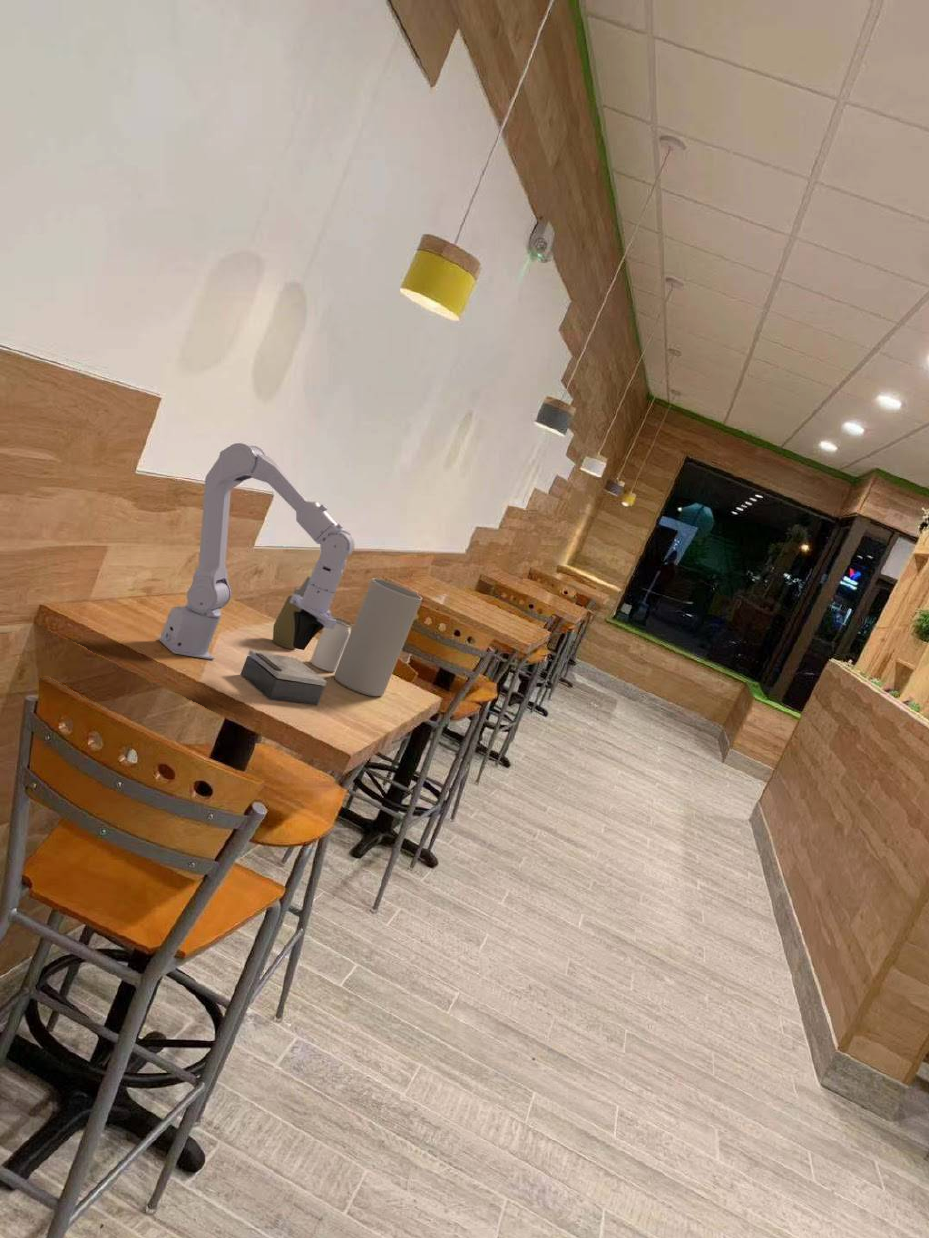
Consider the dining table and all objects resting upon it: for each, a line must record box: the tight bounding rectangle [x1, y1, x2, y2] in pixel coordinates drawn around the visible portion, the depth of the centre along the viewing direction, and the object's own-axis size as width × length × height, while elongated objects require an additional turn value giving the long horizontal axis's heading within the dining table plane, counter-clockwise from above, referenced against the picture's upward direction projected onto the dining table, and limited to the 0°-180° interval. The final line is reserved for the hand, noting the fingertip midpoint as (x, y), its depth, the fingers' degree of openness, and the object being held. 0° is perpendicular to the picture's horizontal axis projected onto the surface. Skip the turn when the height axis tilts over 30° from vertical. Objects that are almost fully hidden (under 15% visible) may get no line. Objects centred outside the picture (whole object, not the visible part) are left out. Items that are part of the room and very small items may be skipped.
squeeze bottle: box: [272, 576, 311, 650], centre depth 224 cm, size 8×8×18 cm
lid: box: [248, 649, 328, 687], centre depth 187 cm, size 12×12×1 cm
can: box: [310, 616, 352, 673], centre depth 219 cm, size 6×6×12 cm
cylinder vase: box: [334, 577, 423, 697], centre depth 214 cm, size 12×12×25 cm
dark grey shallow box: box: [239, 655, 325, 706], centre depth 188 cm, size 12×12×4 cm
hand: (298, 648), depth 188 cm, fingers closed
